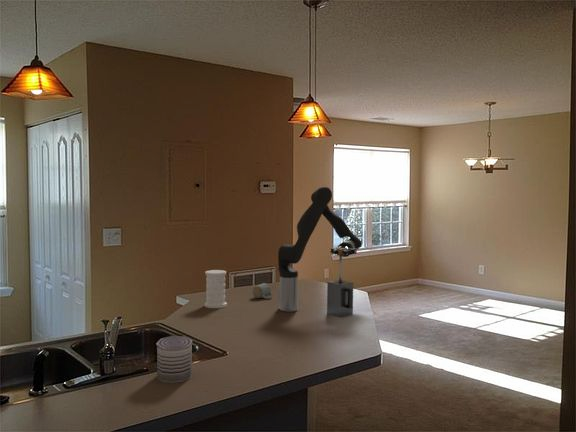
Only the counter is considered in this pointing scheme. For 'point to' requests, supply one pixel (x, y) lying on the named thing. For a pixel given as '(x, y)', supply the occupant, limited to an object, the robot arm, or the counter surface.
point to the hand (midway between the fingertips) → (339, 252)
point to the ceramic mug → (262, 291)
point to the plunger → (340, 263)
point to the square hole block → (340, 298)
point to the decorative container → (215, 289)
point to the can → (174, 359)
